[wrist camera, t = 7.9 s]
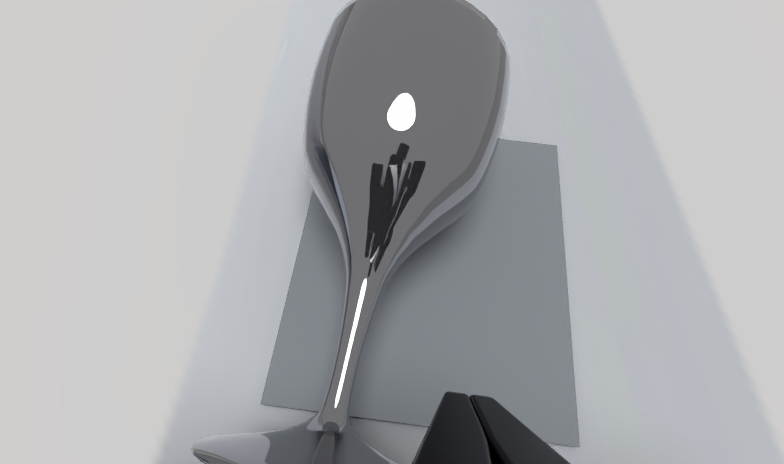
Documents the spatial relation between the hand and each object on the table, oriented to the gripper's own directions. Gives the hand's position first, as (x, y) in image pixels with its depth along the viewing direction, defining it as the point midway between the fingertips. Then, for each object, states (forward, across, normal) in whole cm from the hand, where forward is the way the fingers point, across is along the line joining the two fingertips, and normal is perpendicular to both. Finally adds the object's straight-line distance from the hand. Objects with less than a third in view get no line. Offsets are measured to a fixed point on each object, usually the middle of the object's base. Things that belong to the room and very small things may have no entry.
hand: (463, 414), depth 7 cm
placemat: (+11, 0, -2) cm, 11 cm away
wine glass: (+3, -3, -5) cm, 6 cm away
